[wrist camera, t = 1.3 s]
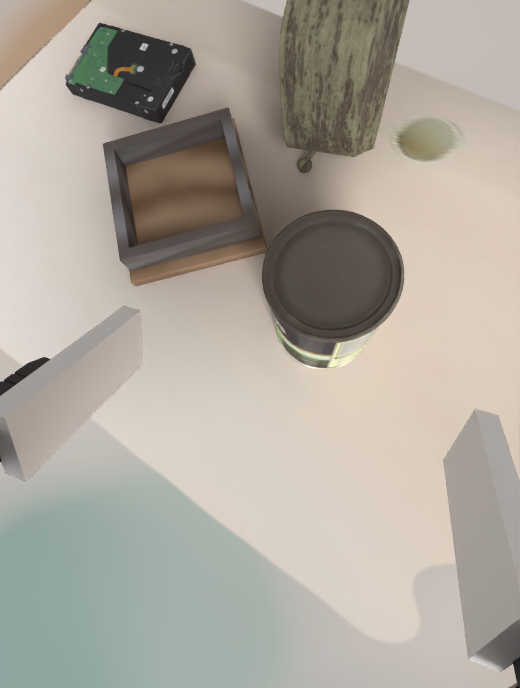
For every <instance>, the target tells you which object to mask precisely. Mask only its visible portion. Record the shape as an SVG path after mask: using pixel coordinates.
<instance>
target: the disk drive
mask: <svg viewBox="0 0 520 688" xmlns="http://www.w3.org/2000/svg"><path fill="white" fill-rule="evenodd" d="M81 53H82V56H80V57H79V58H78V60H77V62H75V65H74V66H73V68H72V70H71V71H70V73H69V75H66V77H65V79H66V80H67V82H66V86H67V87H68V88H69V90H70V91H71V92H72V94H74V95H77V96H80V97H83V98H84V99H87V100H92V101H95V102H98V103H101V104H104V105H107V106H110V107H112V108H115V109H118V110H121V111H124V112H128V113H131V114H134V115H137V116H139V117H143V118H144V119H147V120H150V121H154V122H158V123H162V122H163V120H164V118H165V116H166V115H167V113H168V111H169V110H170V108H171V106H172V104H173V103H174V101H175V99H176V98H177V96H178V94H179V92H180V91H181V89H182V87H183V86H184V84H185V82H186V80H187V79H188V77H189V75H190V73H191V71H192V70H193V68H194V66H195V65H196V64H195V61H194V57H193V54H192V51H191V49H190V48H187V47H184V46H182V45H178V44H175V43H174V44H172V43H170V42H167V41H163V40H160V39H156V38H153V37H149V36H145V35H142V34H138V33H135V32H131V31H128V30H124V29H120V28H118V27H114V26H109V25H106V24H102V23H99V24H98V25H97V27H96V29H95V30H94V32H93V33H92V35H91V37H90V38H89V40H88V41H87V43H86V45H84V47H83V49H82V50H81Z"/></svg>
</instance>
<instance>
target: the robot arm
mask: <svg viewBox="0 0 520 688" xmlns="http://www.w3.org/2000/svg"><path fill="white" fill-rule="evenodd" d="M142 364H143V355H142V332H141V311H140V310H136V309H133V308H130V307H126V306H123V307H122V308H120V309H119V310H118V311H116V312H115V313H114V314H112V315H111V316H109V317H108V318H107V319H105V320H104V321H103V322H101V323H100V324H98V325H97V326H96V327H94V328H93V329H92V330H90V331H89V332H87V333H86V334H85V335H83V336H82V337H81V338H79V339H78V340H77V341H75V342H74V343H72V344H71V345H70V346H68V347H67V348H66V349H64V350H63V351H61V352H60V353H59V354H57V355H56V356H55V357H53V358H52V359H48V358H45V357H43V358H40V359H37V360H35V361H32V362H30V363H27V364H26V365H25V366H23V367H22V368H20V369H19V370H17V371H16V372H15V374H12V375H10V376H9V377H7V378H6V379H5V380H4V382H2V381H1V382H0V462H1V463H2V466H3V468H4V471H5V473H6V474H8V475H11V476H13V477H15V478H18V479H20V480H23V481H27V480H28V479H29V478H30V477H31V476H32V475H33V474H34V473H35V472H36V471H37V470H38V469H39V468H40V467H41V466H42V465H43V464H44V463H45V462H46V461H47V460H48V459H49V458H50V457H51V456H52V455H53V454H54V453H55V452H56V451H57V450H58V449H59V448H60V447H61V446H62V445H63V444H64V443H65V442H66V441H67V440H68V439H69V438H70V437H71V436H72V435H73V434H74V433H75V432H76V431H77V430H78V429H79V428H80V427H81V426H82V425H83V424H84V423H85V422H86V421H87V420H88V419H89V418H90V417H91V416H92V415H93V414H94V413H95V412H96V411H97V410H98V409H99V408H100V407H101V406H102V405H103V404H104V403H105V402H106V401H107V400H108V399H109V398H110V397H111V396H112V395H113V394H114V393H115V392H116V391H117V390H118V389H119V387H120V386H121V385H122V384H123V383H124V382H125V381H126V380H127V379H128V378H129V377H130V376H131V375H132V374H133V373H134V372H135V371H136V370H137V369H138V368H139V367H140V366H141V365H142ZM443 461H444V469H445V477H446V485H447V493H448V501H449V509H450V517H451V525H452V533H453V541H454V549H455V557H456V565H457V572H458V581H459V589H460V597H461V604H462V612H463V621H464V629H465V637H466V645H467V652H468V659H469V660H471V661H474V662H477V663H479V664H481V665H484V666H486V667H489V668H492V669H494V670H497V671H499V672H502V671H503V670H505V669H506V668H507V667H509V666H510V665H512V664H513V665H514V670H515V674H516V680H517V683H516V684H514V685H513V686H511V687H509V688H520V482H519V479H518V476H517V472H516V469H515V466H514V463H513V460H512V457H511V454H510V451H509V447H508V444H507V441H506V438H505V435H504V432H503V429H502V426H501V422H500V419H499V416H498V415H495V414H492V413H488V412H485V411H481V410H478V409H475V410H474V411H473V413H472V415H471V416H470V418H469V419H468V421H467V423H466V424H465V426H464V427H463V429H462V431H461V432H460V434H459V435H458V437H457V439H456V440H455V442H454V443H453V445H452V447H451V448H450V450H449V451H448V453H447V455H446V456H445V458H444V459H443Z"/></svg>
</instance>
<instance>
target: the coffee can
mask: <svg viewBox="0 0 520 688" xmlns="http://www.w3.org/2000/svg"><path fill="white" fill-rule="evenodd" d="M262 282H263V289H264V294H265V296H266V299H267V302H268V304H269V306H270V308H271V312H272V315H273V319H274V322H275V326H276V332H277V336H278V339H279V341H280V343H281V345H282V347H283V349H284V350H285V351H286V353H287V354H288V355H289V356H290V357H291V358H292V359H293V360H295V361H296V362H298V363H300V364H301V365H303V366H306V367H309V368H313V369H320V370H329V369H334V368H338V367H341V366H344V365H345V364H347V363H349V362H351V361H352V360H353V359H355V358H356V357H357V356H358V355H359V354H360V353H361V352H362V350H363V349H364V347H365V345H366V344H367V342H368V341H369V339H370V338H371V337H372V335H373V334H374V333H375V331H376V330H377V328H378V327H379V326H380V325H381V324H382V323H383V322H384V321H385V320H386V319H387V318H388V317H389V315H390V314H391V313H392V311H393V310H394V308H395V307H396V305H397V303H398V301H399V299H400V296H401V293H402V290H403V284H404V266H403V261H402V257H401V254H400V252H399V249H398V247H397V245H396V244H395V242H394V241H393V239H392V238H391V236H390V235H389V234H388V233H387V232H386V231H385V230H384V229H383V228H382V227H380V226H379V225H378V224H377V223H375V222H374V221H372V220H370V219H369V218H366V217H364V216H362V215H359V214H357V213H354V212H349V211H343V210H325V211H319V212H314V213H311V214H308V215H305V216H303V217H300V218H298V219H297V220H295V221H293V222H292V223H290V224H289V225H287V226H286V227H285V228H284V229H283V230H282V231H281V232H280V233H279V234H278V235H277V237H276V238H275V239H274V241H273V242H272V244H271V245H270V247H269V249H268V251H267V253H266V256H265V259H264V263H263V270H262Z"/></svg>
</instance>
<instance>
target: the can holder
mask: <svg viewBox="0 0 520 688" xmlns="http://www.w3.org/2000/svg"><path fill="white" fill-rule="evenodd" d="M103 148H104V154H105V161H106V168H107V175H108V182H109V189H110V195H111V202H112V209H113V216H114V223H115V230H116V237H117V243H118V250H119V257H120V261H121V262H122V263H123V264H124V265H126V266H127V267H128V268H129V271H130V277H131V283H133V284H134V285H135V286H138V285H142V284H146V283H150V282H153V281H157V280H161V279H165V278H169V277H173V276H176V275H180V274H184V273H188V272H192V271H195V270H199V269H203V268H207V267H211V266H215V265H218V264H222V263H226V262H230V261H234V260H237V259H241V258H245V257H249V256H253V255H257V254H260V253H264V252H267V249H266V245H265V241H264V237H263V233H262V229H261V225H260V221H259V217H258V213H257V209H256V205H255V201H254V197H253V193H252V189H251V185H250V181H249V177H248V173H247V169H246V165H245V161H244V157H243V153H242V149H241V145H240V141H239V137H238V133H237V129H236V125H235V121H234V118H233V119H232V118H231V114H230V110H229V108H225V109H222V110H218V111H215V112H212V113H208V114H205V115H201V116H198V117H194V118H191V119H187V120H184V121H180V122H177V123H173V124H170V125H166V126H163V127H159V128H156V129H152V130H149V131H146V132H142V133H139V134H135V135H132V136H128V137H125V138H121V139H118V140H114V141H111V142H107V143H104V144H103Z"/></svg>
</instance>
